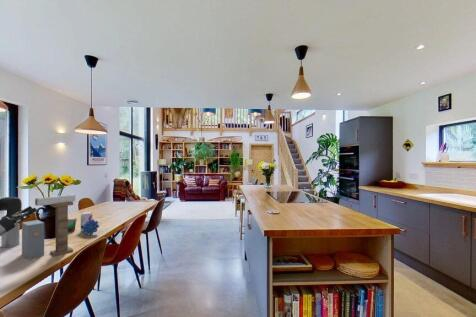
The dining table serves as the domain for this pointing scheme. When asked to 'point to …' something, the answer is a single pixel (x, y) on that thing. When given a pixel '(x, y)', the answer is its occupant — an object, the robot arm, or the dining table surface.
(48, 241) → the dining table surface
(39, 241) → the block
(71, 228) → the food container
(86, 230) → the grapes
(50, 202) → the steel spout bar
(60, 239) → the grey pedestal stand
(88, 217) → the supplement can
